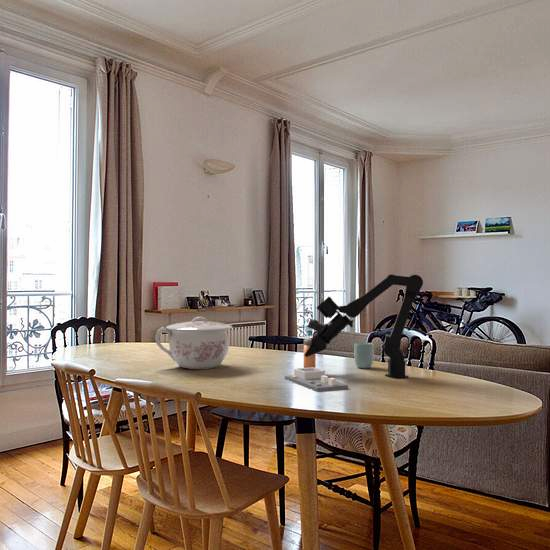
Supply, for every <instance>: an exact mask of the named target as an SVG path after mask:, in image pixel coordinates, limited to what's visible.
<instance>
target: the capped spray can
mask: <svg viewBox="0 0 550 550" xmlns="http://www.w3.org/2000/svg"><path fill="white" fill-rule="evenodd" d="M311 344H312V340H311V338H306V339H303V368H311V367H315V368H317V367H316V363H317V362H316V358H317V355H316V354H317V353H315V354H312V355H310V356H307V357H306V356H305V353H306V352H307V350H308V349H309V347H310V346H311Z"/></svg>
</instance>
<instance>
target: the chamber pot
mask: <svg viewBox="0 0 550 550" xmlns="http://www.w3.org/2000/svg"><path fill="white" fill-rule="evenodd" d="M232 328H234V326H233V325H231V324H227V323H222V322H219V321H218V322H217V321H216V322H215V321H208V320H207V318H205V317H204V316H196V317H194V318H193V319H192V320H191V321H184V322H177V323H173V324H169V325H167V326H165V327H164V326H162V327H160V328H159V329H158V330H157V331H156V333H155V335H154V337H155V338H154V340H155V341H154V342H155V343H156V345H157V346H158V348H159V349H160V350H162V351H163V352H165V353H166V354H167V355H168V356H169V357H170V358H171V359H172V360H173V361H174V362H175V363H176V364H177V365H178V366H179V367H180V368H183V369H185V368H188V369H187V370H193V369H203V370H208V369H207V368H211V369H214V368H217V367H219V366H220V365H222V363H223V361H224V360H225V358H226V356H227V355H228V351H229V348H230V337H229V335H228V333H227V332H228V331H229V330H231V329H232ZM161 333H166V334H167V335H168V336H167V340H168V346H169V349H167V348H166V347H164V345H163V344H162V343H161V341H160V335H161Z"/></svg>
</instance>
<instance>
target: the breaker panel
mask: <svg viewBox="0 0 550 550" xmlns="http://www.w3.org/2000/svg"><path fill="white" fill-rule="evenodd" d="M293 370H294V371H293V374H288V375H284V380H286V381H288V380H289V382H291V381H292V382H291V383H294V384H297V385H299V386H301V387H304V388H307V389H309V390H311V389H312V391H314V392H316V391H317V392H327V391H329V392H330V391H340V390H348V389H349V384H347V383H346V384H345V383H343V382H340V381H337V379H336V378H334V377H329V376H327V375H326V370H324V369H320V368H317V367H316V368H315V367H311V368H304V367H300V368H297V367H296V368H294V369H293Z"/></svg>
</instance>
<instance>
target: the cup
mask: <svg viewBox="0 0 550 550" xmlns="http://www.w3.org/2000/svg"><path fill="white" fill-rule="evenodd" d="M374 346H375V345H374V343H372V342H365V341H364V342H354V346H353V347H354V348H353V350H354V351H353V354H354V363H355V366H356V367H357V368H359V369H370V368H371V367H372V365H373V363H374V356H375V355H374V348H375V347H374Z"/></svg>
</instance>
